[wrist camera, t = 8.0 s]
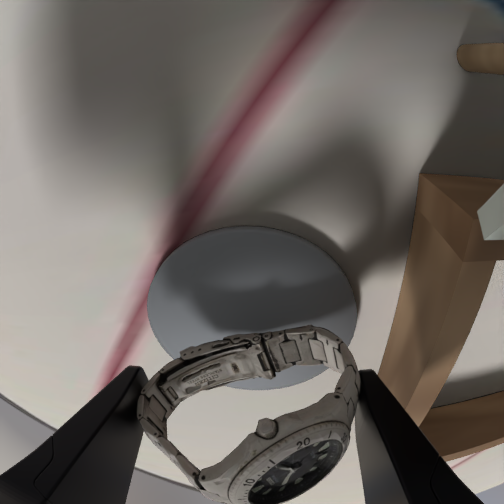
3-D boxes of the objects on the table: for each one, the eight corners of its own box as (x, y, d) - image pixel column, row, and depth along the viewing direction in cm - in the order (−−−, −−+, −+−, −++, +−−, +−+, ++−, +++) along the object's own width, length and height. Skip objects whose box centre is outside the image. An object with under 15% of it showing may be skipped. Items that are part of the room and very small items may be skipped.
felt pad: (342, 379, 12) (343, 387, 12) (175, 378, 13) (173, 386, 13) (366, 223, 9) (369, 229, 8) (128, 231, 9) (123, 237, 9)
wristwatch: (355, 366, 10) (375, 508, 6) (183, 389, 11) (153, 510, 7) (343, 283, 8) (380, 465, 4) (138, 320, 10) (75, 460, 5)
